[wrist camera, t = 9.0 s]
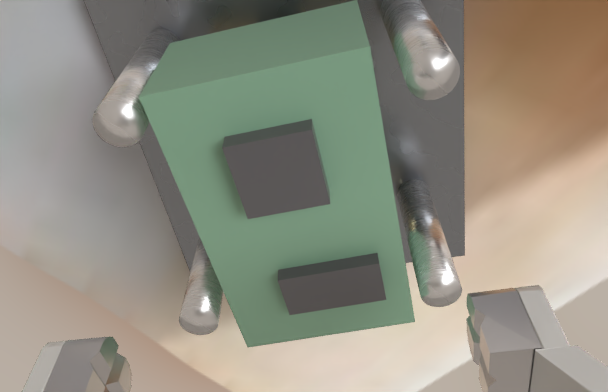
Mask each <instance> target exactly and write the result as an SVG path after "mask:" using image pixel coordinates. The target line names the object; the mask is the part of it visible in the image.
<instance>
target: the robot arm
mask: <svg viewBox="0 0 608 392" xmlns="http://www.w3.org/2000/svg"><path fill="white" fill-rule="evenodd" d="M467 308H468V311H469V314H470V316H469V317H468V318H467V335H468V342H469V347H470V351H471V354H472V358H473V361H474V362H475V363H476V364H478V365H479V381H480V384H481V388H482V391H483V392H608V366H607V365H605V364H604V363H603V362H601V361H600V360H598V359H597V358H595V357H594V356H593V355H591V354H590V353H588V352H587V351H585V350H584V349H582V348H581V347H579V346H578V345H572V346H570V344H569V342H568V340H567V338H566V336H565V334H564V332H563V330H562V328H561V326H560V324H559V322H558V320H557V318H556V316H555V314H554V312H553V309H552V307H551V305H550V303H549V301H548V299H547V297H546V295H545V293H544V291H543V289H542V288H541V287H540V286H539V285H535V286H527V287H519V288H508V289H501V290H493V291H485V292H478V293H470V294H468V296H467ZM117 349H118V344H117V343H116V341H115V340H114V338H113V337H102V338H91V339H79V340H68V341H60V342H50V343H47V344H46V345H45V346H44V347H43V348H42V350H41V352H40V354H39V356H38V358H37V360H36V362H35V365H34V367H33V369H32V371H31V373H30V375H29V377H28V380H27V382H26V384H25V386H24V388H23V390H22V392H130V389H131V380H132V377H131V376H132V373H131V369H130V365H129V363H128V361H127V360H126V358H125V357H123V356H121V355H120V354H118V353H117Z"/></svg>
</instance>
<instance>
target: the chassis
mask: <svg viewBox="0 0 608 392" xmlns="http://www.w3.org/2000/svg"><path fill="white" fill-rule="evenodd" d="M350 1H354V0H84V2H85V4H86V7H87V10H88V12H89V15H90V17H91V20H92V22H93V25H94V27H95V30H96V33H97V35H98V38H99V40H100V43H101V45H102V48H103V50H104V53H105V55H106V58H107V61H108V63H109V66H110V68H111V71H112V73H113V76H114V78H115V83H114V84H113V86H112V87H111V89H110V90H109V91H108V93H107V94H106V96H105V97H104V99H103V100H102V102H101V103H100V104H99V106H98V107H97V109H96V110H95V112H94V114H93V119H92V122H93V127H94V129H95V131H96V133H97V134H98V136H99V137H100V138H101V139H102V140H104V141H105V142H107V143H108V144H111V145H113V146H117V147H129V146H132V145H135V144H136V143H138V142H140V145H141V147H142V150H143V152H144V155H145V157H146V160H147V163H148V165H149V168H150V170H151V173H152V175H153V178H154V180H155V183H156V185H157V188H158V191H159V193H160V196H161V198H162V201H163V203H164V206H165V208H166V211H167V214H168V216H169V219H170V221H171V224H172V226H173V229H174V231H175V234H176V236H177V239H178V242H179V244H180V247H181V249H182V252H183V254H184V257H185V259H186V262H187V265H188V267H189V270H190V276H189V280H188V285H187V289H186V293H185V297H184V301H183V305H182V309H181V313H180V317H179V323H180V325H181V326H182V328H183V329H185V330H186V331H188V332H190V333H192V334H197V335H205V334H209V333H211V332H213V331H214V330H216V328H217V327H218V323H219V317H220V311H221V305H222V299H223V293H224V292H223V289H222V287H221V285H220V282H219V280H218V278H217V275H216V273H215V271H214V269H213V266H212V264H211V262H210V259H209V257H208V255H207V252H206V250H205V248H204V246H203V243H202V241H201V239H200V236H199V234H198V232H197V229H196V227H195V225H194V223H193V220H192V218H191V216H190V213H189V211H188V209H187V206H186V204H185V202H184V200H183V197H182V195H181V193H180V190H179V188H178V186H177V183H176V181H175V179H174V177H173V174H172V172H171V170H170V167H169V165H168V163H167V160H166V158H165V156H164V154H163V151H162V149H161V147H160V144H159V142H158V140H157V137H156V135H155V133H154V131H153V128H152V126H151V124H150V121H149V119H148V117H147V114H146V112H145V110H144V108H143V105H142V103H141V101H140V98H139V96H140V94H141V93H142V91H143V89H144V87H145V86H146V84H147V82H148V80H149V79H150V77H151V75H152V73H153V72H154V70H155V68H156V66H157V65H158V63H159V61H160V59H161V58H162V56H163V54H164V52H165V51H166V49H167V47H168V46H169V44H170V43H172V42H177V41H181V40H185V39H190V38H194V37H198V36H203V35H207V34H211V33H216V32H220V31H224V30H229V29H233V28H237V27H242V26H246V25H250V24H255V23H259V22H263V21H268V20H272V19H276V18H281V17H285V16H289V15H294V14H298V13H302V12H307V11H311V10H315V9H320V8H324V7H328V6H333V5H337V4H341V3H346V2H350ZM357 2H358V5H359V9H360V13H361V16H362V20H363V23H364V27H365V30H366V34H367V38H368V41H369V45H370V50H371V56H372V62H373V68H374V74H375V80H376V86H377V92H378V98H379V105H380V111H381V117H382V123H383V129H384V135H385V141H386V147H387V154H388V160H389V166H390V172H391V178H392V184H393V190H394V196H395V203H396V209H397V215H398V221H399V227H400V233H401V239H402V245H403V252H404V258H405V263H408V262H413V266H414V270H415V274H416V278H417V282H418V287H419V291H420V295H421V298H422V300H423V301H424V302H425V303H426V304H428V305H430V306H434V307H443V306H447V305H450V304H452V303H454V302H455V301H456V300H457V299H458V298H459V297H460V295H461V293H462V288H461V284H460V281H459V278H458V275H457V272H456V269H455V266H454V263H453V260H452V257H455V256H463V255H465V218H464V0H357Z"/></svg>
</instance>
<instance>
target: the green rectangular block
mask: <svg viewBox="0 0 608 392" xmlns="http://www.w3.org/2000/svg"><path fill="white" fill-rule="evenodd" d="M139 98H140V101H141V103H142V105H143V108H144V110H145V112H146V114H147V117H148V119H149V121H150V124H151V126H152V128H153V131H154V133H155V135H156V137H157V140H158V142H159V144H160V147H161V149H162V151H163V154H164V156H165V158H166V160H167V163H168V165H169V167H170V170H171V172H172V174H173V177H174V179H175V181H176V183H177V186H178V188H179V190H180V193H181V195H182V197H183V200H184V202H185V204H186V206H187V209H188V211H189V213H190V216H191V218H192V220H193V223H194V225H195V227H196V229H197V232H198V234H199V236H200V239H201V241H202V243H203V246H204V248H205V250H206V252H207V255H208V257H209V259H210V262H211V264H212V266H213V269H214V271H215V273H216V275H217V278H218V280H219V282H220V285H221V287H222V289H223V292H224V294H225V296H226V298H227V301H228V303H229V305H230V308H231V310H232V312H233V315H234V317H235V319H236V321H237V324H238V326H239V328H240V331H241V333H242V335H243V338H244V340H245V342H246V344H247V347H253V346H260V345H266V344H273V343H279V342H286V341H292V340H299V339H306V338H312V337H319V336H325V335H332V334H338V333H345V332H351V331H358V330H364V329H371V328H377V327H384V326H390V325H397V324H404V323H410V322H415V319H414V313H413V307H412V300H411V294H410V288H409V282H408V276H407V270H406V264H405V258H404V252H403V245H402V239H401V233H400V227H399V221H398V215H397V209H396V203H395V196H394V190H393V184H392V178H391V172H390V166H389V160H388V154H387V147H386V141H385V135H384V129H383V123H382V117H381V111H380V105H379V98H378V92H377V86H376V80H375V74H374V68H373V62H372V56H371V50H370V45H369V41H368V38H367V34H366V30H365V27H364V23H363V20H362V16H361V13H360V9H359V5H358V2H357V0H354V1H350V2H346V3H341V4H337V5H333V6H328V7H324V8H320V9H315V10H311V11H307V12H302V13H298V14H294V15H289V16H285V17H281V18H276V19H272V20H268V21H263V22H259V23H255V24H250V25H246V26H242V27H237V28H233V29H229V30H224V31H220V32H216V33H211V34H207V35H203V36H198V37H194V38H190V39H185V40H181V41H177V42H172V43H170V44H169V46H168V47H167V49H166V51H165V52H164V54H163V56H162V58H161V59H160V61H159V63H158V65H157V66H156V68H155V70H154V72H153V73H152V75H151V77H150V79H149V80H148V82H147V84H146V86H145V87H144V89H143V91H142V93H141V94H140V96H139Z"/></svg>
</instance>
